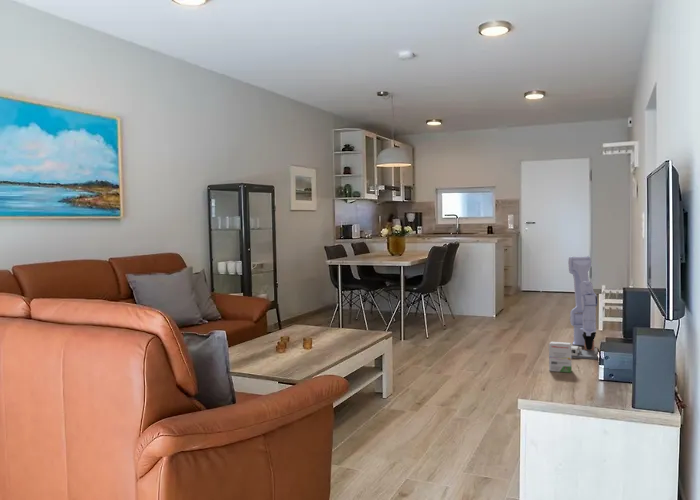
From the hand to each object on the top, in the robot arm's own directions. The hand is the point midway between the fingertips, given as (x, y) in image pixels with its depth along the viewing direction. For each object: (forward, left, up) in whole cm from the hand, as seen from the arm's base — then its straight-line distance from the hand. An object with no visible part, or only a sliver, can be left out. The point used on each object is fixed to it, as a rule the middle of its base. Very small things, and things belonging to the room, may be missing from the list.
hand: (589, 348), depth 276 cm
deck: (+9, -3, -1) cm, 10 cm away
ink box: (+41, -9, -2) cm, 42 cm away
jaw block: (0, 0, -1) cm, 1 cm away
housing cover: (+12, -7, 0) cm, 14 cm away
